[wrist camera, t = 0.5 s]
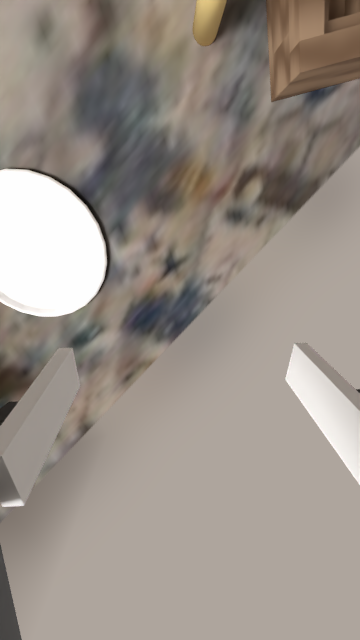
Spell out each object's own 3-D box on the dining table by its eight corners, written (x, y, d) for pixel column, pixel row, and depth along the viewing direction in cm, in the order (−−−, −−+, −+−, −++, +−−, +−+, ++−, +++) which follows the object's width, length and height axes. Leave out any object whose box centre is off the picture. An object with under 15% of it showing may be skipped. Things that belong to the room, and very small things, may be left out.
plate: (28, 131, 30) (23, 128, 29) (136, 265, 38) (135, 266, 37) (-72, 234, 34) (-80, 235, 33) (44, 336, 42) (40, 339, 41)
